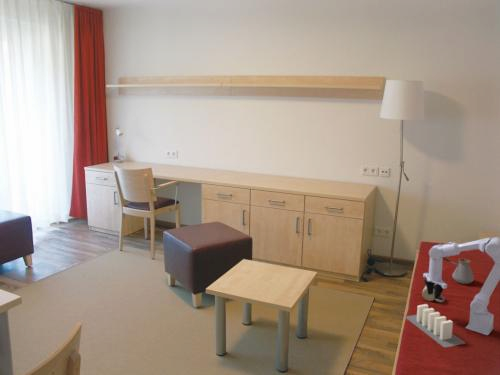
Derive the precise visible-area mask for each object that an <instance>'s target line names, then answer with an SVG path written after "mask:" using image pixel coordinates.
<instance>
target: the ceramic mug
mask: <svg viewBox="0 0 500 375" xmlns="http://www.w3.org/2000/svg"><path fill="white" fill-rule="evenodd" d="M435 285H437V284H436V283H435ZM421 295H422V297H423V299H424V300H426V301H429V302H433V301H436V302H438V303H443V302H444V301H445V297H444V296H443V295H442V294H441V295H440V298H439V299H435V293H434V289H433V294H430V295H429V294H428V291H427V287H426V285H425V286H424V288H423V289H422V292H421Z"/></svg>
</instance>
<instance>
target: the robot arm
mask: <svg viewBox="0 0 500 375" xmlns="http://www.w3.org/2000/svg"><path fill="white" fill-rule="evenodd" d="M475 250H479V251H481V252H482V253H485V252H486V254H487V255H488V256H489V257H491V258H492V260H493V262H494V265H493V266H492V268H491V271H490V272H489V274H488V276H487V278H486V279H485V281H484V283H483V285H482V287H481V289H480V290H479V292H478V293H476V294H475V295H474V298H473V300H472V301H471V302H470V305H469V307H470V309H469V322H468V324H467V326H465V329H467V330H470V331H474V332H477V333H480V334H483V335H485V336H488V335H489V334H490V333H491V332H492V331H493V329H494V314H493V313H492V312H489V310H488V308H487V307H488V305H489V304H490V297H492V294H493V292H494V290H495V289H496V287H497V285H498V283H499V282H500V236H499V237H498V236H495V237H486V238H481V239H477V240H476V239H475V240H473V241H469V242H463V243H458V242H453V241H449V242H448V243H445V244H441V243H440V244H436V245H433V246H432V247H431V248H430V249H429V251H428V256H429V266H428V272H424V273H423V275H422V277H423V278H424V279H423V282H424V283H425V286H426V287H427V291H428V294H429V295H430V294H433V289H434V293H435V299H439V300H440V299H441V297H440V295H442V293H443V291H444V290H445V289H447V288H448V283H446V282H445V281H444V280H443V278H442V275H443V274H442V273H443V260H444V259H443V257H444V258H446V257H447V258H448V257H453V256H457V255H460V253H461V252H467V251H475ZM425 278H426V279H425ZM435 284H436V285H435Z"/></svg>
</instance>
